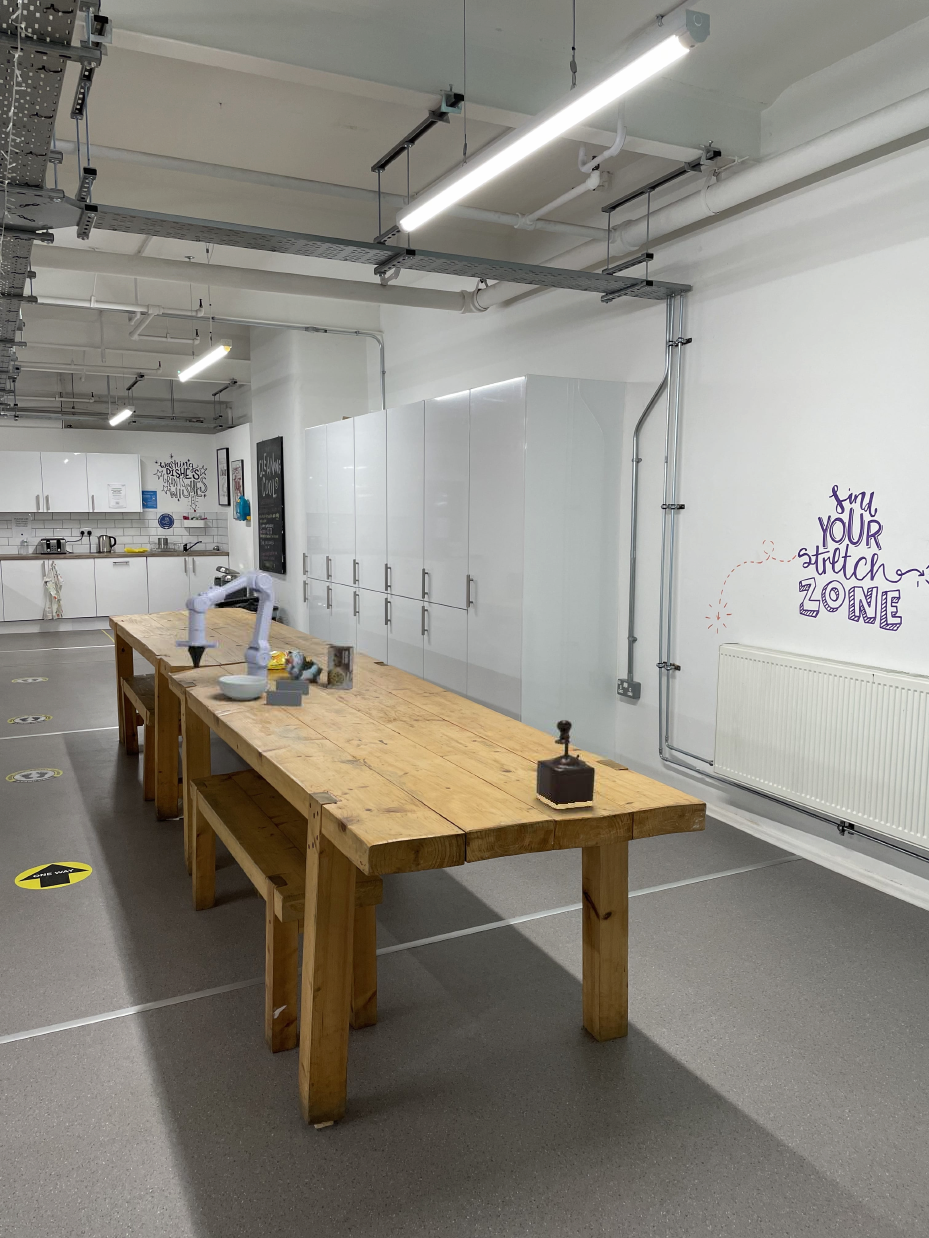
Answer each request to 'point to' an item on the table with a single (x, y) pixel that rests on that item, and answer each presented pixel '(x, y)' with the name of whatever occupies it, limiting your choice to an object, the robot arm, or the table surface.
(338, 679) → the coffee box
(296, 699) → the gray parallel panels
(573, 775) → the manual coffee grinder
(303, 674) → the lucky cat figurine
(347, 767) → the table surface
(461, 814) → the table surface
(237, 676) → the cereal bowl
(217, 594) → the robot arm
